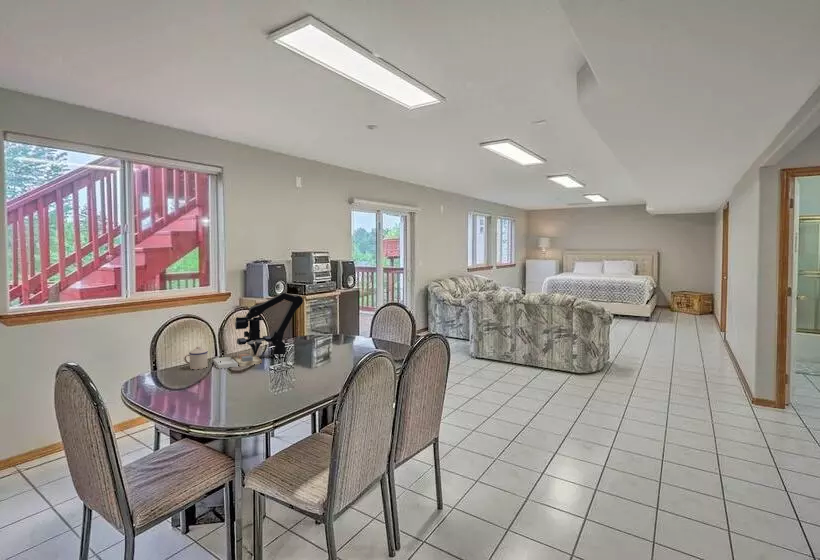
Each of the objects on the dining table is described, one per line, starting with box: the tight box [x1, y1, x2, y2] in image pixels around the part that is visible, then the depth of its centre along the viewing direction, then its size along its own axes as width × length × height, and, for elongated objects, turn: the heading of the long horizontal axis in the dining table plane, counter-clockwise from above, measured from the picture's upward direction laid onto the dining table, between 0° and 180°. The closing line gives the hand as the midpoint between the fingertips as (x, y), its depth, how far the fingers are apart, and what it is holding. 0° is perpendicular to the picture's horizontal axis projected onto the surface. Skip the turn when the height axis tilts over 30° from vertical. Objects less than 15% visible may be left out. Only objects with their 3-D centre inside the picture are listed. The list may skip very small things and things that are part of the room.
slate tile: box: [241, 354, 253, 362], centre depth 242 cm, size 5×5×2 cm
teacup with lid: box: [183, 345, 209, 371], centre depth 233 cm, size 12×9×12 cm
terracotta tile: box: [237, 352, 250, 359], centre depth 249 cm, size 5×5×2 cm
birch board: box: [232, 354, 263, 367], centre depth 246 cm, size 12×16×2 cm
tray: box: [212, 356, 239, 370], centre depth 240 cm, size 10×16×2 cm, turn 34°
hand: (254, 354), depth 252 cm, fingers closed
